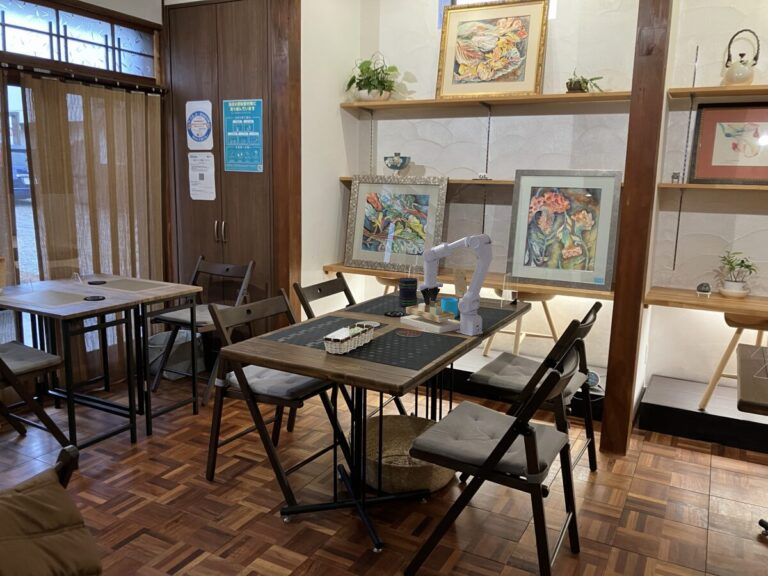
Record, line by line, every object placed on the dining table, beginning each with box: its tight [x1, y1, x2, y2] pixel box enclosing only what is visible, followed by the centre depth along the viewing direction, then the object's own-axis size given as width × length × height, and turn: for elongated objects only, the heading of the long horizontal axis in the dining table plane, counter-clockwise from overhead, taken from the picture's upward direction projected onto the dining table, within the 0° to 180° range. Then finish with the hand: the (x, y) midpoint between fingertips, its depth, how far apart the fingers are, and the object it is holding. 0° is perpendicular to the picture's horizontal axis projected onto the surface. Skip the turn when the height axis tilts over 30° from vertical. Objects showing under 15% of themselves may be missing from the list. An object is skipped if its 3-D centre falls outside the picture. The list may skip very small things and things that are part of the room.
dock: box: [400, 314, 460, 334], centre depth 289 cm, size 26×16×3 cm, turn 40°
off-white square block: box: [418, 302, 426, 312], centre depth 289 cm, size 4×4×3 cm
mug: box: [440, 297, 459, 318], centre depth 311 cm, size 12×8×8 cm
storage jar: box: [398, 277, 418, 310], centre depth 329 cm, size 10×10×15 cm
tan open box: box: [405, 300, 456, 322], centre depth 286 cm, size 22×10×7 cm, turn 40°
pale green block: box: [430, 305, 442, 315], centre depth 283 cm, size 4×4×3 cm
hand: (429, 304), depth 286 cm, fingers closed on tan open box, 3 cm apart
